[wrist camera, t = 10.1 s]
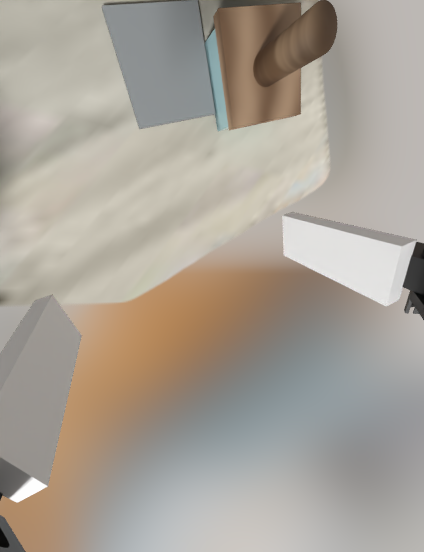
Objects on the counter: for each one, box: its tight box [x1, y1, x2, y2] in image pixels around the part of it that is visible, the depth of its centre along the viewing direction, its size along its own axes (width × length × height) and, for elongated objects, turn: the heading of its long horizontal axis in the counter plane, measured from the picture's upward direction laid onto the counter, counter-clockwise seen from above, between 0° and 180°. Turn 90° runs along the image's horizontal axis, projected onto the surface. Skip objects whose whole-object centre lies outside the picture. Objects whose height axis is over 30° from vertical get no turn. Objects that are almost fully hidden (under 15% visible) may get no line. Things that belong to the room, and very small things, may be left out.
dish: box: [205, 29, 229, 131], centre depth 31 cm, size 10×10×5 cm
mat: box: [102, 0, 215, 129], centre depth 28 cm, size 12×12×1 cm
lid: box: [213, 0, 337, 130], centre depth 24 cm, size 11×11×10 cm
